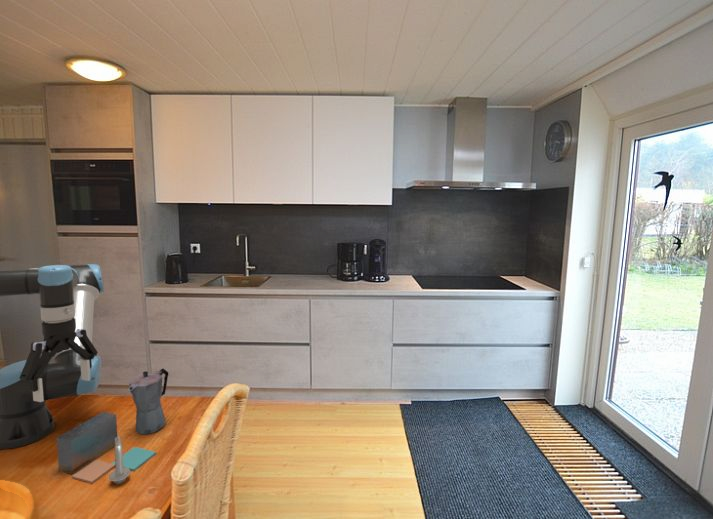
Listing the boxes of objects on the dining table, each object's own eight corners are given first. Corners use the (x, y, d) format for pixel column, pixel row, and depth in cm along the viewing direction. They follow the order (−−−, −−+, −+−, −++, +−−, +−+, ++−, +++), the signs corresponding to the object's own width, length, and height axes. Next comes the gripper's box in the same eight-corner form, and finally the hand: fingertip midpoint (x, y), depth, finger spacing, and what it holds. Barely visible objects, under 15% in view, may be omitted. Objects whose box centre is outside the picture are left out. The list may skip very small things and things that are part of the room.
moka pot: (120, 437, 118) (116, 377, 116) (156, 412, 133) (154, 359, 131) (144, 442, 116) (142, 382, 113) (179, 416, 131) (177, 362, 128)
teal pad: (111, 465, 105) (111, 463, 105) (134, 448, 113) (134, 446, 113) (133, 471, 103) (133, 469, 103) (156, 453, 111) (156, 451, 111)
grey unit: (57, 470, 102) (55, 437, 101) (104, 441, 116) (102, 411, 115) (72, 474, 101) (70, 440, 100) (117, 444, 114) (116, 414, 113)
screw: (134, 478, 100) (116, 490, 96) (123, 472, 103) (105, 483, 98) (132, 434, 99) (113, 443, 95) (121, 428, 101) (102, 438, 97)
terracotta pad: (72, 478, 100) (71, 476, 100) (96, 461, 107) (96, 459, 106) (92, 483, 98) (92, 481, 98) (115, 466, 105) (115, 464, 105)
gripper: (18, 334, 92) (25, 413, 95) (108, 310, 116) (111, 374, 119) (-3, 331, 94) (4, 408, 97) (89, 307, 118) (93, 370, 121)
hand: (63, 389), depth 108 cm, fingers open, 13 cm apart
